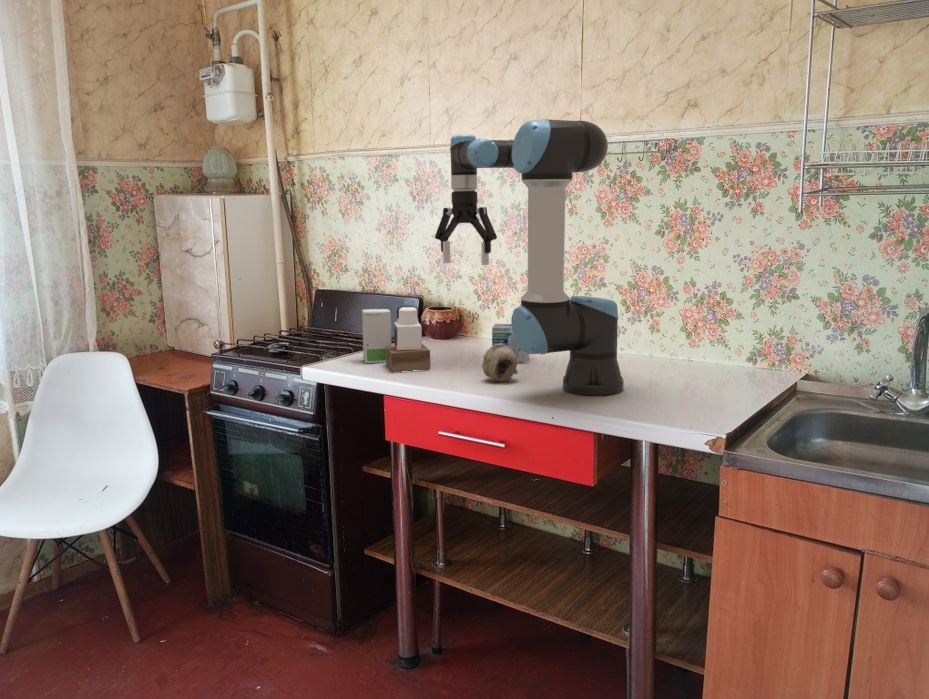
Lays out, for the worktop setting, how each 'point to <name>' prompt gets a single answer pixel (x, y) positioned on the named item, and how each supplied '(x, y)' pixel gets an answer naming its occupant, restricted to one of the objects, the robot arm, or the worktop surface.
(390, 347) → the walnut block
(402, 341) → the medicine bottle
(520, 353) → the light bulb box
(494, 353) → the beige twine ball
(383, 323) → the skincare box
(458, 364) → the worktop surface
